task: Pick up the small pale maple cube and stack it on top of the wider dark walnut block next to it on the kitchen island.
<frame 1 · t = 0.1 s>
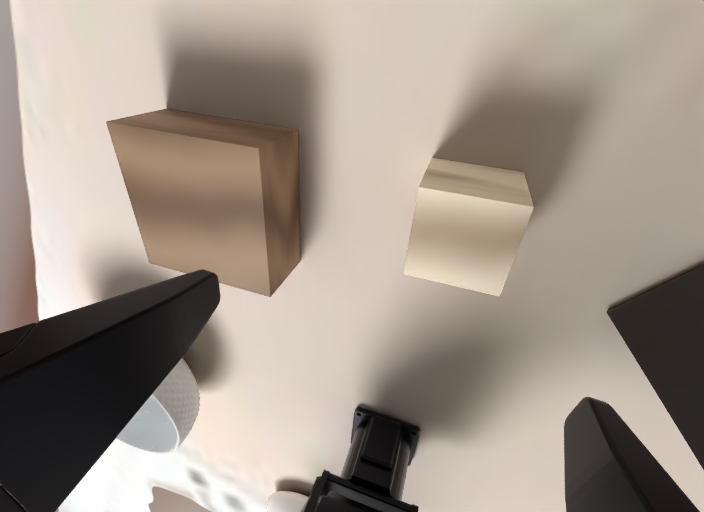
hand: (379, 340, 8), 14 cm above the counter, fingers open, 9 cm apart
flower in vase: (313, 504, 50), on the counter
maple cube: (465, 204, 21), on the counter
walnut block: (239, 188, 26), on the counter
cereal bowl: (162, 354, 42), on the counter
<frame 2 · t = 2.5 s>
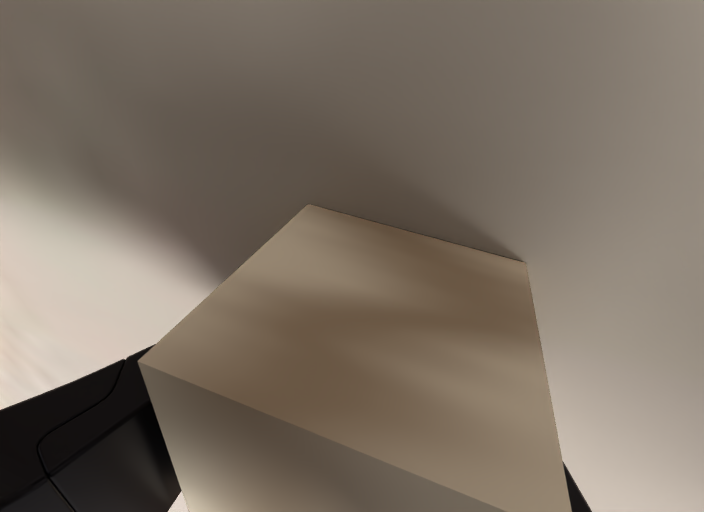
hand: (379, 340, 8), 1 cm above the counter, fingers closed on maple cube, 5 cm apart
maple cube: (389, 312, 9), on the counter, touching gripper
when the fingers open (7 cm above the counter, at t = 6.7 s): maple cube drops 2 cm, resting on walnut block.
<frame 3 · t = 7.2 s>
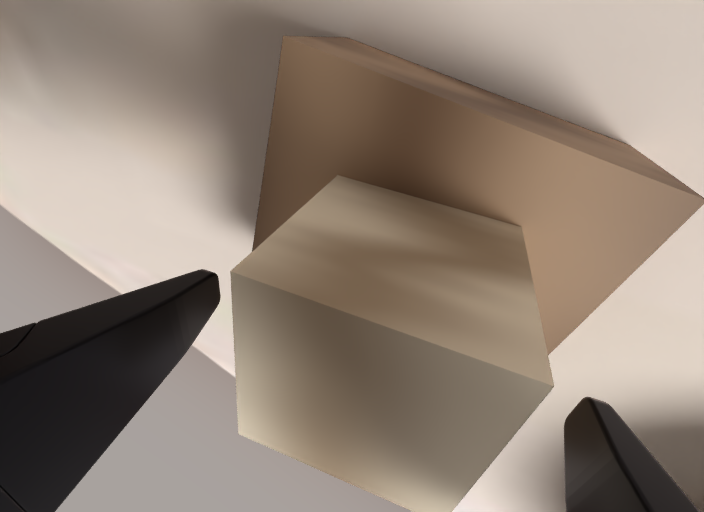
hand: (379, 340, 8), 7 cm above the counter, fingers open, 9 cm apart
maple cube: (402, 273, 11), point 5 cm above the counter, touching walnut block
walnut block: (423, 211, 15), on the counter, touching maple cube
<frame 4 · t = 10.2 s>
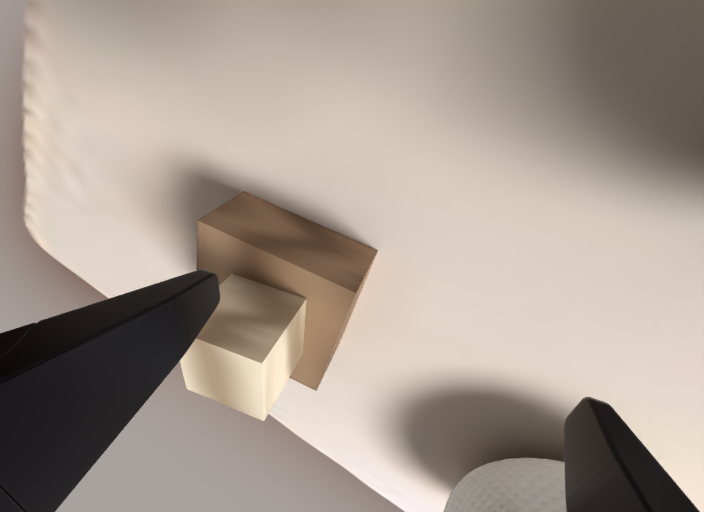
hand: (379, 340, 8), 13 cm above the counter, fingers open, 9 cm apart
maple cube: (268, 315, 22), point 5 cm above the counter, touching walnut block
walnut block: (297, 272, 26), on the counter, touching maple cube
cereal bowl: (549, 483, 29), on the counter
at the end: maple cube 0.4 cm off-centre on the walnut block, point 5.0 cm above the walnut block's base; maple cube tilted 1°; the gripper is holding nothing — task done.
